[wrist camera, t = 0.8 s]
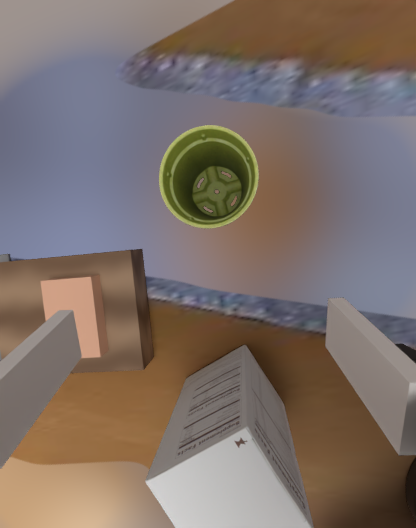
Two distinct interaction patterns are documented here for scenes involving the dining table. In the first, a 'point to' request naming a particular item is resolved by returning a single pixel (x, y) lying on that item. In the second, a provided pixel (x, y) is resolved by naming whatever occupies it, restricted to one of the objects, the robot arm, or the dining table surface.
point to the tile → (79, 309)
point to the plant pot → (208, 176)
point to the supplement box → (229, 453)
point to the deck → (114, 303)
